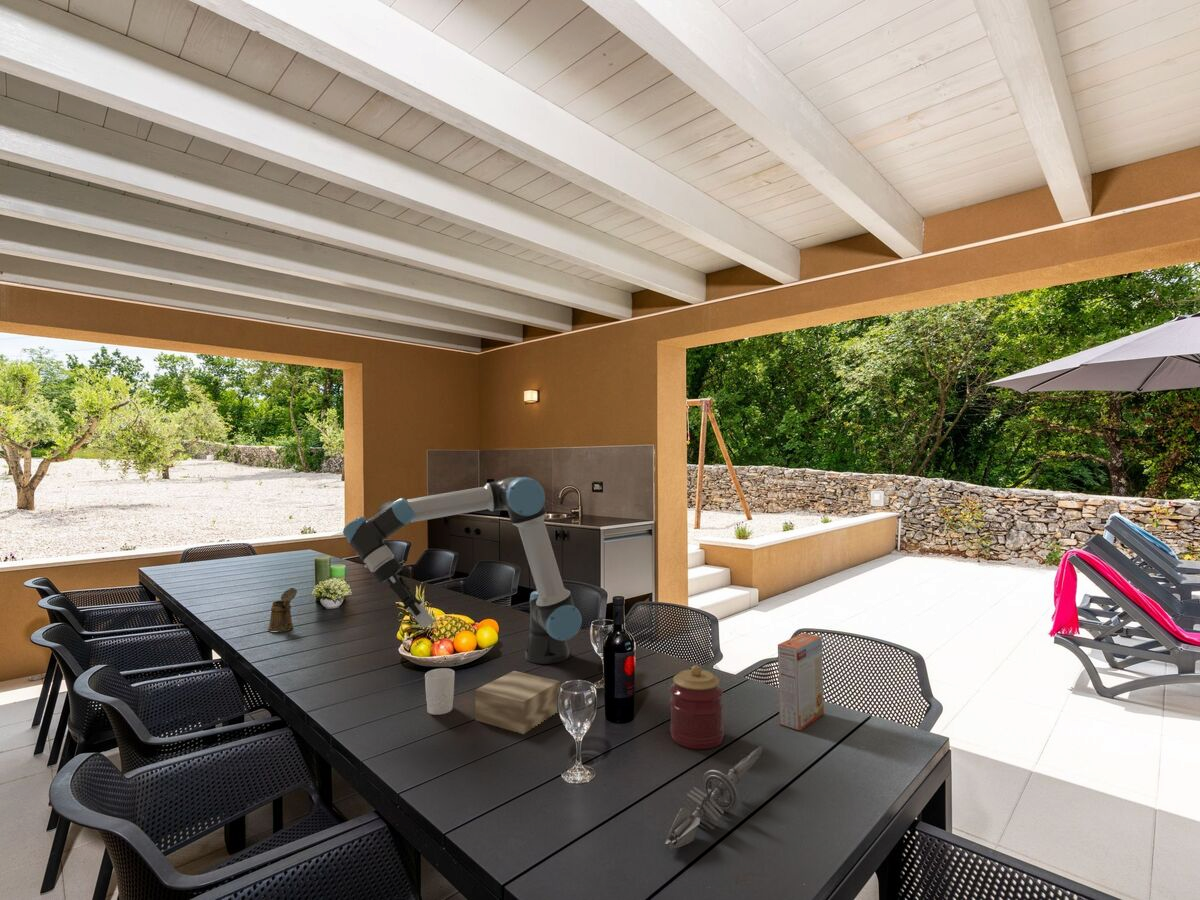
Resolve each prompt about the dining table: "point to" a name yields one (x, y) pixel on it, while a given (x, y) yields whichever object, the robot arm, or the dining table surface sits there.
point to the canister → (696, 709)
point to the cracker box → (800, 681)
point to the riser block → (516, 701)
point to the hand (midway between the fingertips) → (428, 624)
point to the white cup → (439, 690)
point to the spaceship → (709, 801)
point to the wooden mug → (282, 612)
